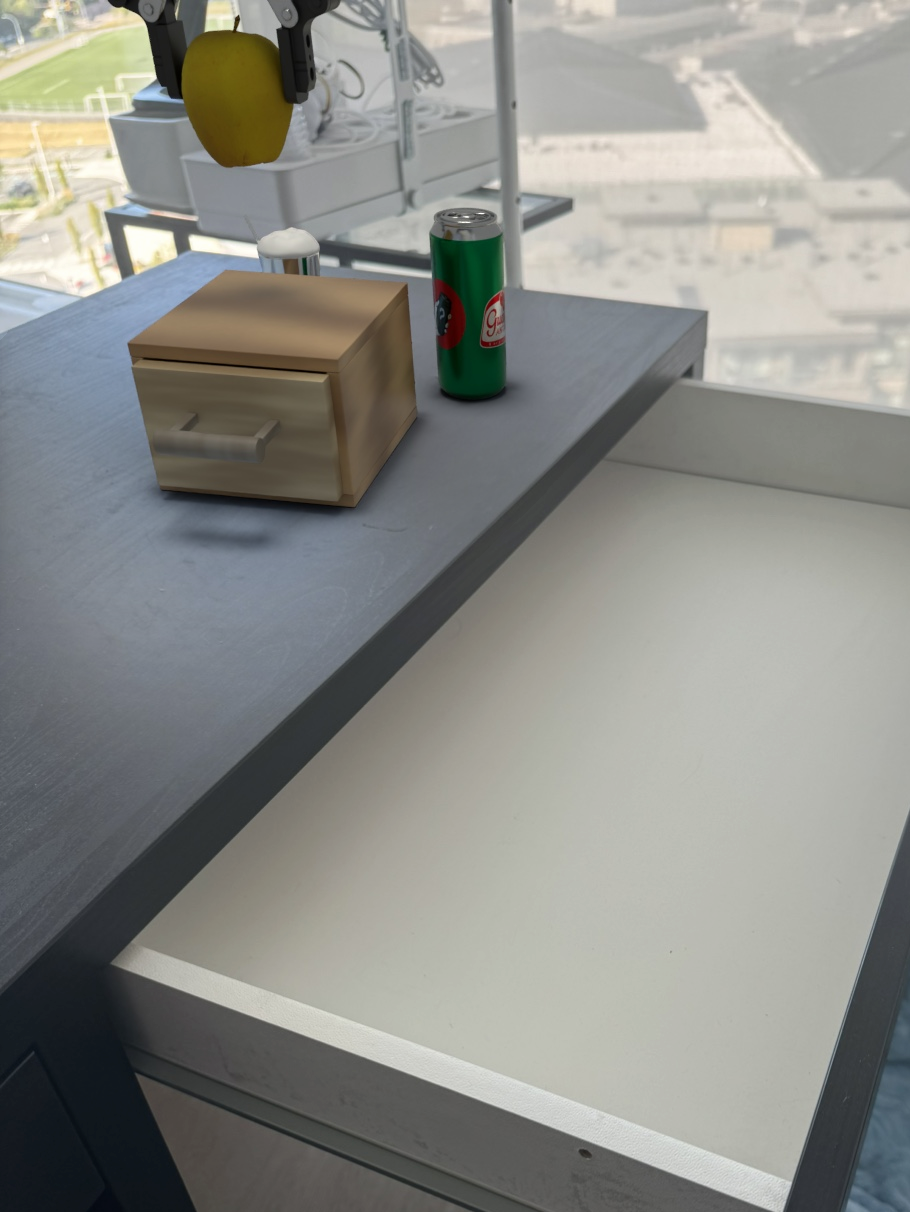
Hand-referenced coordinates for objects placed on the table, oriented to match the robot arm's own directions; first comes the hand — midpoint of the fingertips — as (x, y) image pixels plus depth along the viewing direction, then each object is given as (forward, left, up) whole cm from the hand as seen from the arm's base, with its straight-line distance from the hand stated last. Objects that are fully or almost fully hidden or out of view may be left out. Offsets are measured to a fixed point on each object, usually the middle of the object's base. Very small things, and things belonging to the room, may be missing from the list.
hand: (239, 98), depth 68 cm
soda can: (+11, +9, -20) cm, 25 cm away
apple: (0, 0, -4) cm, 4 cm away
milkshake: (-4, +13, -20) cm, 24 cm away
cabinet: (+2, -4, -20) cm, 20 cm away
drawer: (+2, -8, -19) cm, 21 cm away
